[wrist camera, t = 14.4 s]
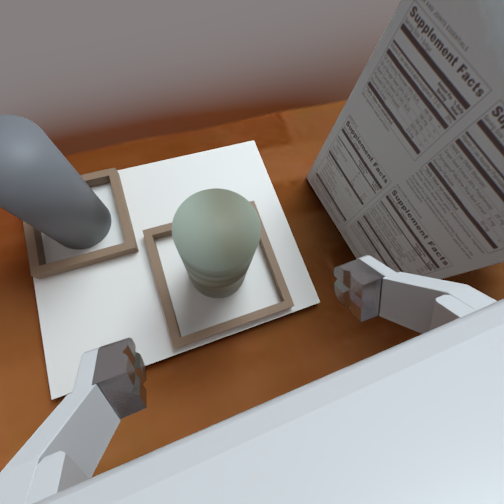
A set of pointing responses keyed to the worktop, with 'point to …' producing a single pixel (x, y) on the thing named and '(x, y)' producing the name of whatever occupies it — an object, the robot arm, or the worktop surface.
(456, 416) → the robot arm
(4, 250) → the worktop surface
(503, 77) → the supplement box
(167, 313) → the board
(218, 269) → the sage pin
